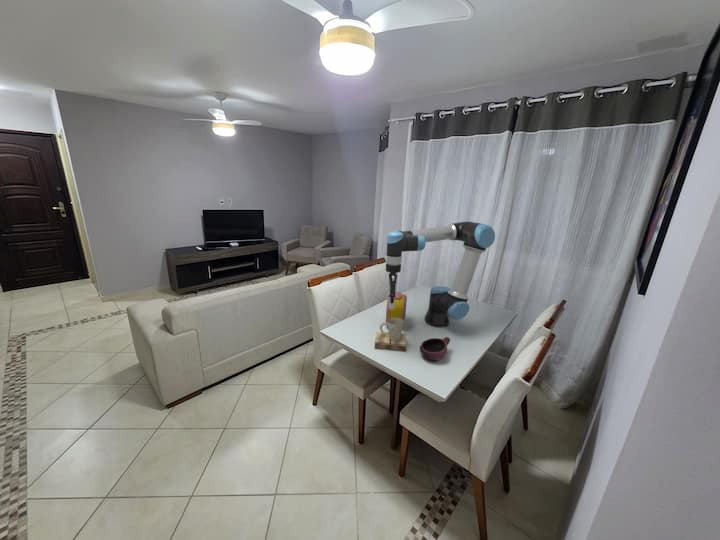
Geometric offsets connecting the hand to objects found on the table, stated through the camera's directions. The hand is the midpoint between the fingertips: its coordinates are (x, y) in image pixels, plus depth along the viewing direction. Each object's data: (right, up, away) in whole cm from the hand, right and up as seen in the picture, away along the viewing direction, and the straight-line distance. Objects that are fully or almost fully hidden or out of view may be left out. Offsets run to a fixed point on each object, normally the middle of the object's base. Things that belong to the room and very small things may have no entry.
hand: (391, 302), depth 140 cm
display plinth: (0, -23, +5) cm, 23 cm away
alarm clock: (+6, -16, +27) cm, 32 cm away
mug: (0, -19, +4) cm, 20 cm away
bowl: (+21, -26, -3) cm, 34 cm away
